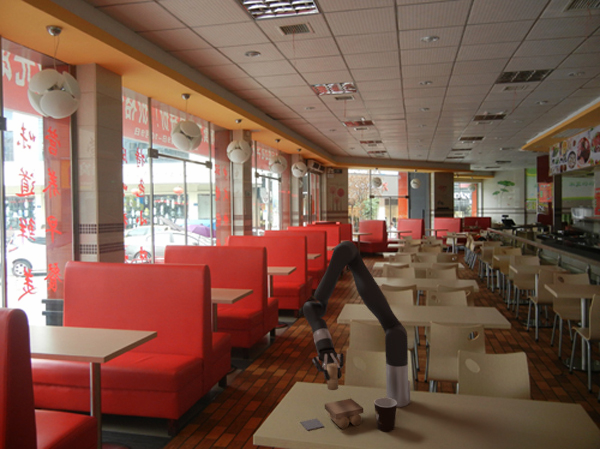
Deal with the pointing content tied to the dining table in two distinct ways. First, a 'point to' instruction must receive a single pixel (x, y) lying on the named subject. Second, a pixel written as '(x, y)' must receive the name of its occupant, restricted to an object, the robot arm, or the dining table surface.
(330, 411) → the slab
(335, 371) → the roller
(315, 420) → the mat
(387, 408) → the coffee mug
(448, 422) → the dining table surface
